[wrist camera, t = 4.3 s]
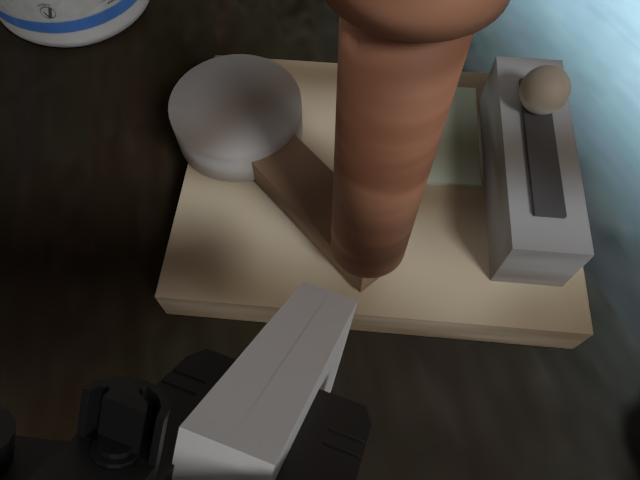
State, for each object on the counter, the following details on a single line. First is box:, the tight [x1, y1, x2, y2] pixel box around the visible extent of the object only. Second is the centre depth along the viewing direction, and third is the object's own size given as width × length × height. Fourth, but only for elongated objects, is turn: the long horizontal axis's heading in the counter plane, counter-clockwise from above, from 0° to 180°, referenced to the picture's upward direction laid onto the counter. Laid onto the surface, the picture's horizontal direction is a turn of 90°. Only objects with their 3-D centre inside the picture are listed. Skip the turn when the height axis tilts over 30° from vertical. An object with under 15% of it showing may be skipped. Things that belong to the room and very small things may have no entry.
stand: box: [155, 55, 594, 349], centre depth 24 cm, size 14×18×7 cm
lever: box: [168, 0, 510, 293], centre depth 18 cm, size 14×6×14 cm, turn 40°
